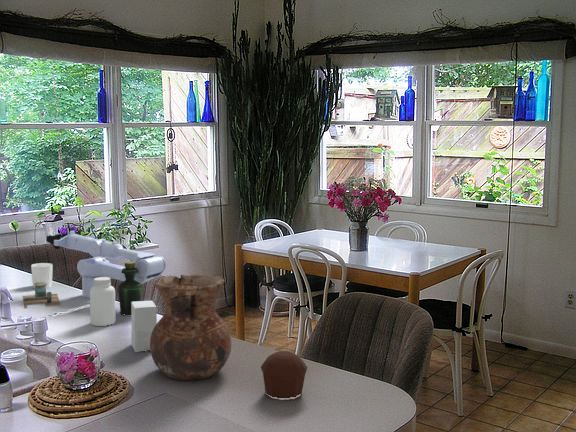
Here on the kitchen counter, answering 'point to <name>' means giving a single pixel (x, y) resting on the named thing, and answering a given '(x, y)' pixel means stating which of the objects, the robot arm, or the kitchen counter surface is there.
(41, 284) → the spool
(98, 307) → the pill bottle
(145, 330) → the small box
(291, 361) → the muffin
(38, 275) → the white cup
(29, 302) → the hook board
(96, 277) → the robot arm
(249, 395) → the kitchen counter surface
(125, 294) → the potion bottle
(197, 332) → the jug
